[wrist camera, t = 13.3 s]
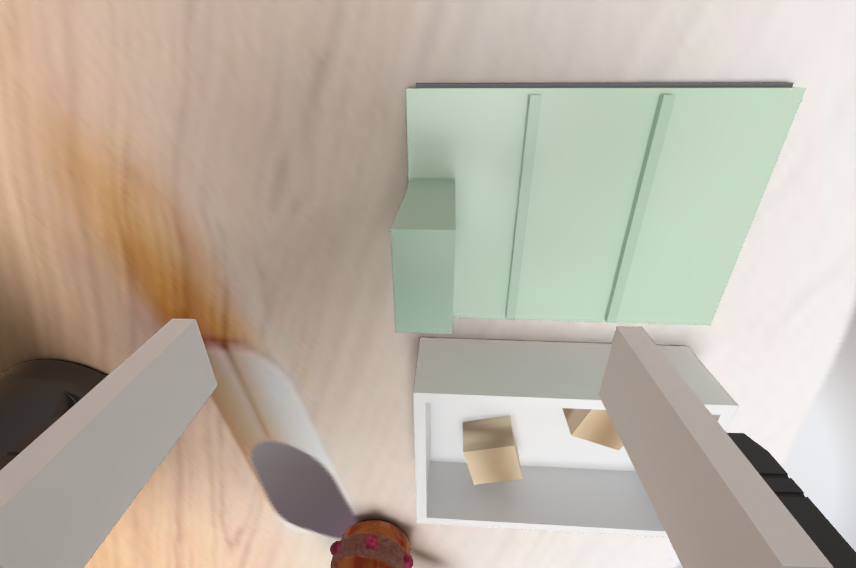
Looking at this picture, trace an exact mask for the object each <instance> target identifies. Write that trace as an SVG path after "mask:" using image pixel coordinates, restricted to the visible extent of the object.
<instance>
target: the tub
mask: <svg viewBox="0 0 856 568" xmlns="http://www.w3.org/2000/svg"><path fill="white" fill-rule="evenodd" d="M611 346H612V344H607V343H577V342H547V341H516V340H486V339H455V338H425V337H420V344H419V351H418V359H417V367H416V374H415V382H414V390H413V406H414V442H415V478H416V514H417V523H423V524H440V525H457V526H474V527H491V528H508V529H525V530H543V531H560V532H577V533H594V534H611V535H628V536H645V537H662V538H668V536H667V534H666V531H665V529H664V527H663V525H662V523H661V521H660V519H659V517H658V515H657V513H656V511H655V509H654V507H653V505H652V503H651V501H650V499H649V497H648V495H647V493H646V491H645V489H644V486H643V484H642V482H641V480H640V478H639V476H638V474H637V472H636V470H635V468H634V466H633V464H632V462H631V460H630V458H629V456H628V454H627V452H626V450H625V448H624V446H623V447H622V448H621V449H620V450H616V449H612V448H609V447H606V446H603V445H600V444H597V443H593V442H590V441H587V440H584V439H581V438H578V437H574V436H571V433H570V430H569V427H568V424H567V421H566V418H565V415H564V412H563V409H562V408H571V409H595V410H606V409H605V407H604V405H603V403H602V400H601V398H600V396H599V391H600V387H601V384H602V380H603V376H604V372H605V368H606V365H607V361H608V357H609V353H610V350H611ZM657 346H658V347H659V349H660V350H661V351H662V353H663V354H664V355H665V356H666V358H667V359H668V360H669V361H670V363H671V364H672V365H673V366H674V368H675V369H676V370H677V371H678V373H679V374H680V375H681V376H682V378H683V379H684V380H685V381H686V383H687V384H688V385H689V386H690V388H691V389H692V390H693V391H694V393H695V394H696V395H697V396H698V398H699V399H700V400H701V401H702V403H703V404H704V405H705V407H706V408H707V409H708V410H709V412H710V413H711V414H712V415H713V417H714V418H715V419H716V420H717V422H718V423H719V424H720V425H721V427H722V428H723V429H724V430H725V432H726V430H727V428H728V426H729V424H730V422H731V420H732V418H733V416H734V414H735V412H736V410H737V408H738V406H739V405H738V404H737V403H736V402H735V401H734V400H733V399H732V397H731V396H730V395H729V394H728V393H727V392H726V390H725V389H724V388H723V387H722V386H721V385H720V383H719V382H718V381H717V380H716V379H715V378H714V376H713V375H712V374H711V373H710V372H709V371H708V369H707V368H706V367H705V366H704V365H703V364H702V362H701V361H700V360H699V359H698V358H697V357H696V356H695V354H694V353H693V352H692V351H691V350H690V349H689V347H688V346H668V345H657ZM509 415H510V419H511V423H512V427H513V432H514V436H515V440H516V444H517V449H518V455H519V460H520V466H521V472H522V478H523V479H519V480H510V481H502V482H493V483H485V484H476V485H474V483H473V480H472V477H471V474H470V471H469V468H468V465H467V462H466V459H465V456H464V453H463V422H468V421H475V420H482V419H489V418H496V417H502V416H509Z"/></svg>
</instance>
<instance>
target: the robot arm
mask: <svg viewBox="0 0 856 568" xmlns="http://www.w3.org/2000/svg"><path fill="white" fill-rule="evenodd" d="M217 386H218V385H217V382H216V379H215V376H214V373H213V370H212V367H211V364H210V361H209V357H208V354H207V351H206V348H205V345H204V342H203V339H202V336H201V333H200V330H199V327H198V324H197V321H196V319H171V320H170V321H169V322H168V323H167V324H165V325H164V326H163V327H162V328H161V329H160V330H159V331H158V332H156V333H155V334H154V335H153V336H152V337H151V338H150V339H149V340H147V341H146V342H145V343H144V344H143V345H142V346H141V347H139V348H138V349H137V350H136V351H135V352H134V353H133V354H132V355H130V356H129V357H128V358H127V359H126V360H125V361H124V362H122V363H121V364H120V365H119V366H118V367H117V368H116V369H115V370H113V371H112V372H111V373H110V374H109V375H108V376H106V375H104V374H102V373H99V372H97V371H95V370H92V369H90V368H87V367H84V366H81V365H78V364H74V363H70V362H65V361H59V360H48V359H41V360H30V361H26V362H22V363H19V364H17V365H15V366H13V367H12V368H10V369H9V370H7V371H5V372H4V373H2V374H1V375H0V568H84V567H85V565H86V564H87V563H88V561H89V560H90V558H91V557H92V556H93V554H94V553H95V552H96V550H97V549H98V548H99V546H100V545H101V544H102V542H103V541H104V539H105V538H106V537H107V535H108V534H109V533H110V531H111V530H112V529H113V527H114V526H115V525H116V523H117V522H118V520H119V519H120V518H121V516H122V515H123V514H124V512H125V511H126V510H127V508H128V507H129V505H130V504H131V503H132V501H133V500H134V499H135V497H136V496H137V495H138V493H139V492H140V491H141V489H142V488H143V486H144V485H145V484H146V482H147V481H148V480H149V478H150V477H151V476H152V474H153V473H154V472H155V470H156V469H157V467H158V466H159V465H160V463H161V462H162V461H163V459H164V458H165V457H166V455H167V454H168V453H169V451H170V450H171V448H172V447H173V446H174V444H175V443H176V442H177V440H178V439H179V438H180V436H181V435H182V433H183V432H184V431H185V429H186V428H187V427H188V425H189V424H190V423H191V421H192V420H193V419H194V417H195V416H196V414H197V413H198V412H199V410H200V409H201V408H202V406H203V405H204V404H205V402H206V401H207V400H208V398H209V397H210V395H211V394H212V393H213V391H214V390H215V389H216V387H217ZM599 396H600V398H601V400H602V403H603V405H604V407H605V409H606V411H607V413H608V415H609V417H610V419H611V421H612V423H613V425H614V427H615V429H616V431H617V433H618V435H619V437H620V439H621V441H622V443H623V446H624V448H625V450H626V452H627V454H628V456H629V458H630V460H631V462H632V464H633V466H634V468H635V470H636V472H637V474H638V476H639V478H640V480H641V482H642V484H643V486H644V489H645V491H646V493H647V495H648V497H649V499H650V501H651V503H652V505H653V507H654V509H655V511H656V513H657V515H658V517H659V519H660V521H661V523H662V525H663V527H664V529H665V531H666V534H667V536H668V538H669V540H670V542H671V544H672V546H673V548H674V550H675V552H676V554H677V556H678V558H679V560H680V562H681V564H682V566H683V568H856V552H855V551H854V550H853V549H852V548H851V546H850V545H849V544H848V543H847V542H846V541H845V540H844V538H843V537H842V536H841V535H840V534H839V533H838V532H837V530H836V529H835V528H834V527H833V526H832V525H831V524H830V522H829V521H828V520H827V519H826V518H825V517H824V515H823V514H822V513H821V512H820V511H819V510H818V508H817V507H816V506H815V505H814V504H813V503H812V502H811V500H810V499H809V498H808V497H805V496H804V494H803V491H802V490H801V489H800V488H799V487H798V486H797V484H796V483H795V482H794V481H793V480H792V479H791V478H788V476H787V475H788V474H787V473H786V472H785V470H784V469H783V468H782V467H781V466H780V465H779V463H778V462H777V461H776V460H775V459H774V458H773V457H772V455H771V454H770V453H769V452H768V451H766V450H765V449H764V448H762V447H761V446H760V445H758V444H757V443H756V442H754V441H753V440H752V439H750V438H749V437H748V436H746V435H745V434H744V433H726V432H725V430H724V429H723V428H722V427H721V425H720V424H719V423H718V422H717V420H716V419H715V418H714V417H713V415H712V414H711V413H710V412H709V410H708V409H707V408H706V407H705V405H704V404H703V403H702V401H701V400H700V399H699V398H698V396H697V395H696V394H695V393H694V391H693V390H692V389H691V388H690V386H689V385H688V384H687V383H686V381H685V380H684V379H683V378H682V376H681V375H680V374H679V373H678V371H677V370H676V369H675V368H674V366H673V365H672V364H671V363H670V361H669V360H668V359H667V358H666V356H665V355H664V354H663V353H662V351H661V350H660V349H659V347H658V346H657V345H656V344H655V342H654V341H653V340H652V339H651V337H650V336H649V335H648V334H647V332H646V331H645V330H644V329H643V327H616V331H615V335H614V338H613V342H612V346H611V350H610V353H609V357H608V361H607V365H606V368H605V372H604V376H603V380H602V384H601V387H600V391H599Z"/></svg>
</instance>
